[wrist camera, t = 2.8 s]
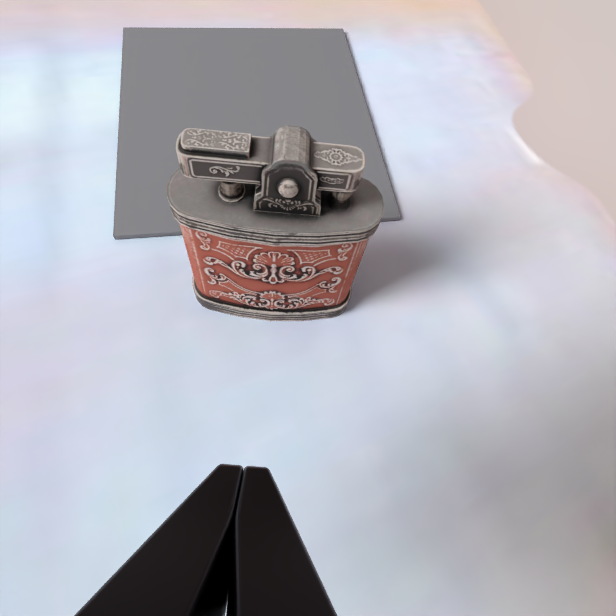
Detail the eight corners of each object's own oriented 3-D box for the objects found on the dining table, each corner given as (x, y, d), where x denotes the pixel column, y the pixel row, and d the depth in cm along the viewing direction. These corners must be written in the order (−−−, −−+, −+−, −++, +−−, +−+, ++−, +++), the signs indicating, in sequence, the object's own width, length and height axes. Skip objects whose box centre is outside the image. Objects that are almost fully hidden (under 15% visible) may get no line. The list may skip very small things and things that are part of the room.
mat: (399, 220, 26) (400, 217, 25) (114, 239, 23) (113, 235, 23) (342, 32, 33) (342, 28, 33) (124, 31, 31) (123, 27, 30)
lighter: (348, 269, 24) (400, 117, 15) (349, 326, 22) (408, 193, 13) (199, 258, 23) (160, 91, 14) (189, 315, 22) (139, 169, 13)
